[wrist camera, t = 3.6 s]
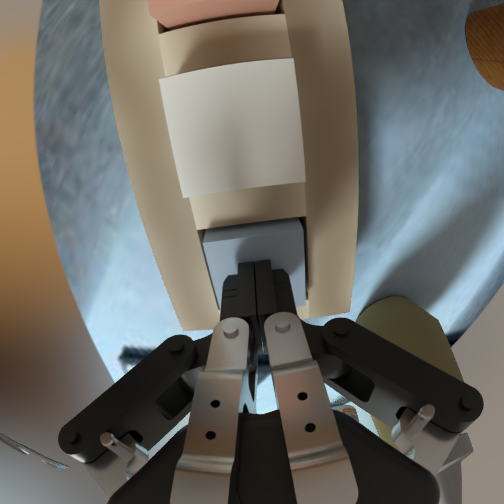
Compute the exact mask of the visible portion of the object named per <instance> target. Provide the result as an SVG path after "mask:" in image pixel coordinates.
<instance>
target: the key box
mask: <svg viewBox="0 0 504 504" xmlns="http://www.w3.org/2000/svg"><path fill="white" fill-rule="evenodd" d="M99 4H100V18H101V29H102V39H103V48H104V55H105V63H106V70H107V76H108V82H109V88H110V94H111V99H112V104H113V110H114V115H115V119H116V124H117V129H118V133H119V138H120V142H121V146H122V150H123V154H124V158H125V162H126V166H127V170H128V174H129V177H130V181H131V185H132V188H133V192H134V195H135V199H136V202H137V205H138V209H139V212H140V215H141V218H142V222H143V225H144V228H145V231H146V234H147V237H148V240H149V243H150V246H151V249H152V252H153V255H154V257H155V260H156V263H157V266H158V268H159V271H160V274H161V277H162V279H163V282H164V285H165V287H166V290H167V292H168V295H169V297H170V300H171V302H172V305H173V307H174V310H175V312H176V315H177V317H178V320H179V322H180V324H181V327H182V329H183V331H194V330H209V329H214V327H215V326H216V325H217V324H218V323H219V322H220V307H219V304H218V300H217V296H216V293H215V289H214V285H213V282H212V278H211V274H210V270H209V266H208V263H207V259H206V255H205V251H204V247H203V239H204V235H205V232H206V229H208V228H215V227H222V226H229V225H237V224H245V223H252V222H260V221H268V220H276V219H285V218H293V217H298V218H299V221H300V223H301V226H302V228H303V234H304V258H305V297H306V306H299V307H296V310H297V314H298V316H299V318H300V319H301V320H302V319H309V318H316V317H323V316H329V315H335V314H341V313H347V312H350V305H351V297H352V288H353V278H354V268H355V256H356V243H357V226H358V199H359V148H358V122H357V106H356V93H355V82H354V72H353V64H352V56H351V48H350V41H349V35H348V29H347V23H346V17H345V12H344V7H343V2H342V0H279V2H278V5H277V8H276V10H275V13H274V15H261V16H250V17H241V18H233V19H226V20H220V21H214V22H208V23H203V24H198V25H193V26H189V27H185V28H180V29H176V30H172V31H170V30H169V29H168V28H166V27H165V26H164V25H163V24H161V23H160V22H159V21H157V20H156V19H155V18H153V17H152V16H151V15H149V6H148V0H99ZM287 58H293V59H294V66H295V74H296V82H297V90H298V98H299V108H300V117H301V127H302V138H303V149H304V162H305V176H306V182H298V183H288V184H279V185H271V186H263V187H255V188H247V189H240V190H232V191H225V192H219V193H212V194H206V195H199V196H193V197H187V198H183V195H182V191H181V187H180V183H179V178H178V174H177V169H176V165H175V160H174V156H173V151H172V146H171V142H170V137H169V132H168V127H167V122H166V117H165V111H164V106H163V100H162V95H161V89H160V83H159V79H162V78H166V77H170V76H174V75H178V74H182V73H186V72H191V71H196V70H201V69H206V68H211V67H217V66H223V65H229V64H236V63H243V62H252V61H261V60H272V59H287Z"/></svg>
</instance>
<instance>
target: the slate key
mask: <svg viewBox="0 0 504 504" xmlns="http://www.w3.org/2000/svg"><path fill="white" fill-rule="evenodd" d="M203 247H204V251H205V255H206V259H207V263H208V266H209V270H210V274H211V278H212V282H213V285H214V289H215V293H216V296H217V300H218V304H219V307H220V310H221V299H222V288H223V282H224V280H225V279H226V277H227V276H228V275H234V274H238V263H244V262H252V261H254V266H255V261H260V260H268V259H270V261H271V268H272V270H275V269H282V268H283V269H284V270H285V271H286V272H287V273H288V274H289V278H290V282H291V287H292V291H293V296H294V301H295V306H296V307H299V306H306V297H305V258H304V234H303V228H302V226H301V223H300V221H299V218H298V217H293V218H285V219H276V220H268V221H260V222H252V223H245V224H237V225H229V226H222V227H215V228H208V229H206V232H205V235H204V239H203Z"/></svg>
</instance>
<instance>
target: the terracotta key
mask: <svg viewBox="0 0 504 504" xmlns="http://www.w3.org/2000/svg"><path fill="white" fill-rule="evenodd" d="M278 2H279V0H148V6H149V15H151V16H152V17H153V18H155V19H156V20H157V21H159V22H160V23H161V24H163V25H164V26H165V27H166V28H168V29H169V30H170V31H172V30H176V29H180V28H185V27H189V26H193V25H198V24H203V23H208V22H214V21H220V20H226V19H233V18H241V17H250V16H261V15H274V13H275V10H276V8H277V5H278Z"/></svg>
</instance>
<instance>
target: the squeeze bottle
mask: <svg viewBox="0 0 504 504" xmlns="http://www.w3.org/2000/svg"><path fill="white" fill-rule="evenodd" d="M356 323H357V324H359V325H361V326H363V327H365V328H366V329H368V330H370V331H372V332H374V333H375V334H377V335H379V336H381V337H382V338H384V339H386V340H388V341H390V342H391V343H393V344H395V345H397V346H399V347H400V348H402V349H404V350H406V351H408V352H409V353H411V354H413V355H415V356H417V357H418V358H420V359H422V360H424V361H426V362H428V363H429V364H431V365H433V366H435V367H437V368H438V369H440V370H442V371H444V372H446V373H448V374H449V375H451V376H453V377H455V378H457V379H459V380H460V381H462V382H464V381H463V378H462V375H461V373H460V370H459V367H458V365H457V362H456V360H455V357H454V355H453V352H452V350H451V347H450V345H449V343H448V340H447V338H446V336H445V334H444V331H443V329H442V327H441V325H440V323H439V321H438V320H437V319H436V318H435V317H433V316H432V315H430V314H429V313H428V312H426V311H425V310H423V309H422V308H421V307H419V306H418V305H416V304H415V303H413V302H412V301H410V300H409V299H407V298H405V297H404V296H391V297H388V298H384V299H381V300H379V301H377V302H376V303H374V304H372V305H371V306H369V307H368V308H367V309H366V310H365V311H364V312H363V313H362V314H361V315H360V316H359V317H358V319H357V321H356ZM370 415H371V414H370ZM371 417H372V420H373V422H374V425H375V427H376V429H377V432H378V434H379V437H380V438H381V439H383V440H384V441H385V442H387V443H388V444H390V445H391V446H393V447H394V448H395V449H397V450H398V451H400V452H401V453H402V451H401V450H400V448H398V447H397V446H396V445H395V444H394V442H393V440H392V435H391V434H392V429H393V428H391V427H389V426H388V425H386V424H385V423H383V422H382V421H380V420H379V419H377V418H375V417H374V416H372V415H371ZM472 452H473V447H472V444H471V442H470V439H469V436H468V433H463V434H460V435H459V437H458V439H457V441H456V443H455V445H454V446H453V448H452V450H451V452H450V453H449V455H448V457H447V458H446V460H445V462H444V463H443V465H442V466H441V468H440V469H439V471H438V473H437V474H436V476H435V478H436V479H437V481H438V484H439V488H440V501H439V504H462V475H461V461H462V460H463V459H465V458H466V457H467V456H468V455H470V454H471V453H472Z"/></svg>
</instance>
